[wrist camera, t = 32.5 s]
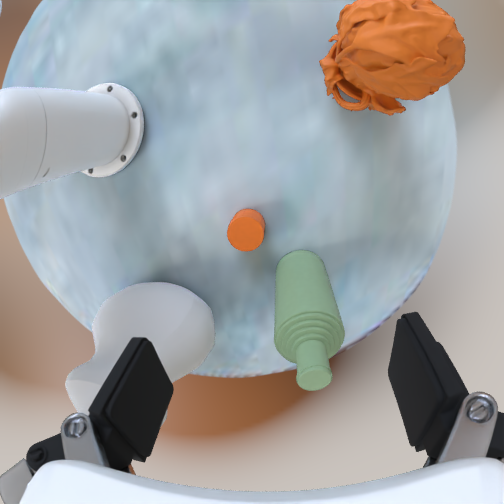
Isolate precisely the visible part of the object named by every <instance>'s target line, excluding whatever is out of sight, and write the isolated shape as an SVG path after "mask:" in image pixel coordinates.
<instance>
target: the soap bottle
mask: <svg viewBox="0 0 504 504" xmlns="http://www.w3.org/2000/svg"><path fill="white" fill-rule="evenodd" d="M92 332H93V337H94V341H95V347H96V349H95V354H94V355H93V357H92V358H91V360H90V361H88V362H86V363H84V364H82V365H80V366H78V367H76V368H75V369H73V370H72V371H71V372H70V373H69V374H68V377H67V379H66V382H65V383H66V385H65V387H66V389H67V392H68V395H69V397H70V399H71V401H72V403H73V404H74V406H75V408H76V410H77V411H78V413H84V414H86V415H87V416H88V415H89V411H88V409H89V407H90V405H91V404H92V402H93V400H94V399H95V397H96V395H97V393H98V392H99V390H100V388H101V387H102V385H103V383H104V382H105V380H106V378H107V377H108V375H109V373H110V372H111V370H112V368H113V367H114V365H115V363H116V362H117V360H118V359H119V357H120V355H121V354H122V352H123V351H124V349H125V347H126V346H127V344H128V343H129V341H130V340H131V338H133V337H146V338H147V339H148V340H149V341H151V342H152V344H153V346H154V348H155V350H156V352H157V354H158V356H159V358H160V361H161V363H162V365H163V367H164V369H165V371H166V373H167V375H168V377H169V379H170V381H171V382H174V381H176V380H178V379H179V378H181V377H183V376H185V375H187V374H188V373H190V372H192V371H194V370H195V369H197V368H199V366H200V365H201V364H202V363H203V362H204V360H205V359H206V357H207V356H208V354H209V353H210V351H211V350H212V348H213V347H214V345H215V325H214V318H213V314H212V311H211V309H210V307H209V306H208V305H207V304H206V303H205V302H204V301H203V300H202V299H201V298H199V297H198V296H197V295H196V294H194V293H193V292H191V291H190V290H189V289H186V288H184V287H182V286H179V285H175V284H172V283H166V282H147V283H138V284H134V285H130V286H128V287H126V288H124V289H122V290H121V291H119V292H117V293H116V294H114V295H112V296H111V297H109V298H107V299H106V300H105V301H104V302H103V303H102V304H101V306H100V308H99V310H98V312H97V314H96V316H95V318H94V320H93V324H92ZM166 418H167V411H166V413H165V416H164V419H163V422H162V424H163V423H164V421H165V420H166ZM162 424H161V426H162Z"/></svg>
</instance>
